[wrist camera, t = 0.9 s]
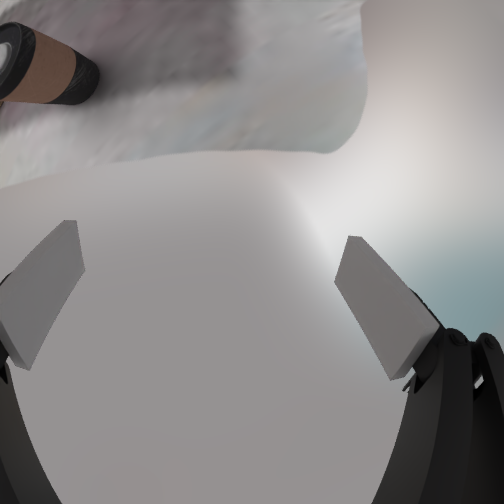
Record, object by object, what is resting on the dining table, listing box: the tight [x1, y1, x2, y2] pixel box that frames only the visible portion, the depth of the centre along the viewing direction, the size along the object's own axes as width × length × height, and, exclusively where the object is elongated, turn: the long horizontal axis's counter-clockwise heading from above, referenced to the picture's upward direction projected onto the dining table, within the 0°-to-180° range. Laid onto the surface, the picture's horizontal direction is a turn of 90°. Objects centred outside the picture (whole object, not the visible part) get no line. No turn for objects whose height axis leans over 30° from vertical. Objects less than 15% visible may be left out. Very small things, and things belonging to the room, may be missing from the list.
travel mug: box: [0, 22, 99, 105], centre depth 17 cm, size 8×8×20 cm
